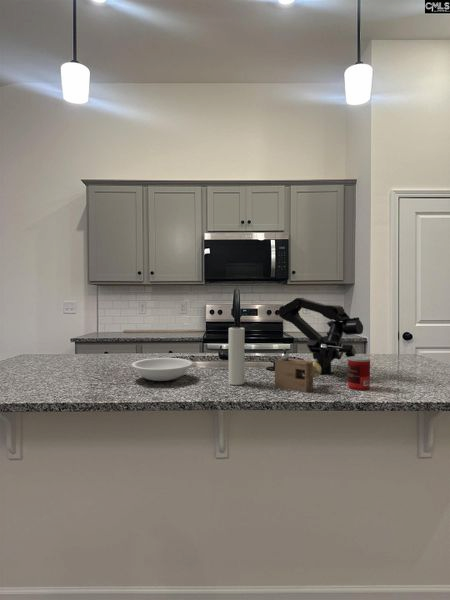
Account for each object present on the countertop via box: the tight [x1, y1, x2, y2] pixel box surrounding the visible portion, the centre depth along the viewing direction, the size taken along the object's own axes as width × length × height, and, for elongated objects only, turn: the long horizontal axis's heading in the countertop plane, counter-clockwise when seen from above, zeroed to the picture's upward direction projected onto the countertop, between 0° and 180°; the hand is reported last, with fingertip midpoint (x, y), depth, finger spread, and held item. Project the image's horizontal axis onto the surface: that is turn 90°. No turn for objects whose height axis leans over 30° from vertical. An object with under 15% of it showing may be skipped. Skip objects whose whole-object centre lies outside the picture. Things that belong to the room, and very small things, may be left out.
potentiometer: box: [280, 348, 290, 361], centre depth 142 cm, size 3×3×4 cm
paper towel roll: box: [228, 326, 246, 386], centre depth 147 cm, size 7×6×21 cm
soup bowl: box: [131, 357, 194, 382], centre depth 154 cm, size 24×24×7 cm
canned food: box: [347, 355, 371, 391], centre depth 141 cm, size 8×8×11 cm
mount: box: [274, 358, 314, 393], centre depth 141 cm, size 7×12×10 cm, turn 54°
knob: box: [303, 361, 322, 378], centre depth 143 cm, size 7×6×6 cm
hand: (325, 366), depth 153 cm, fingers closed
